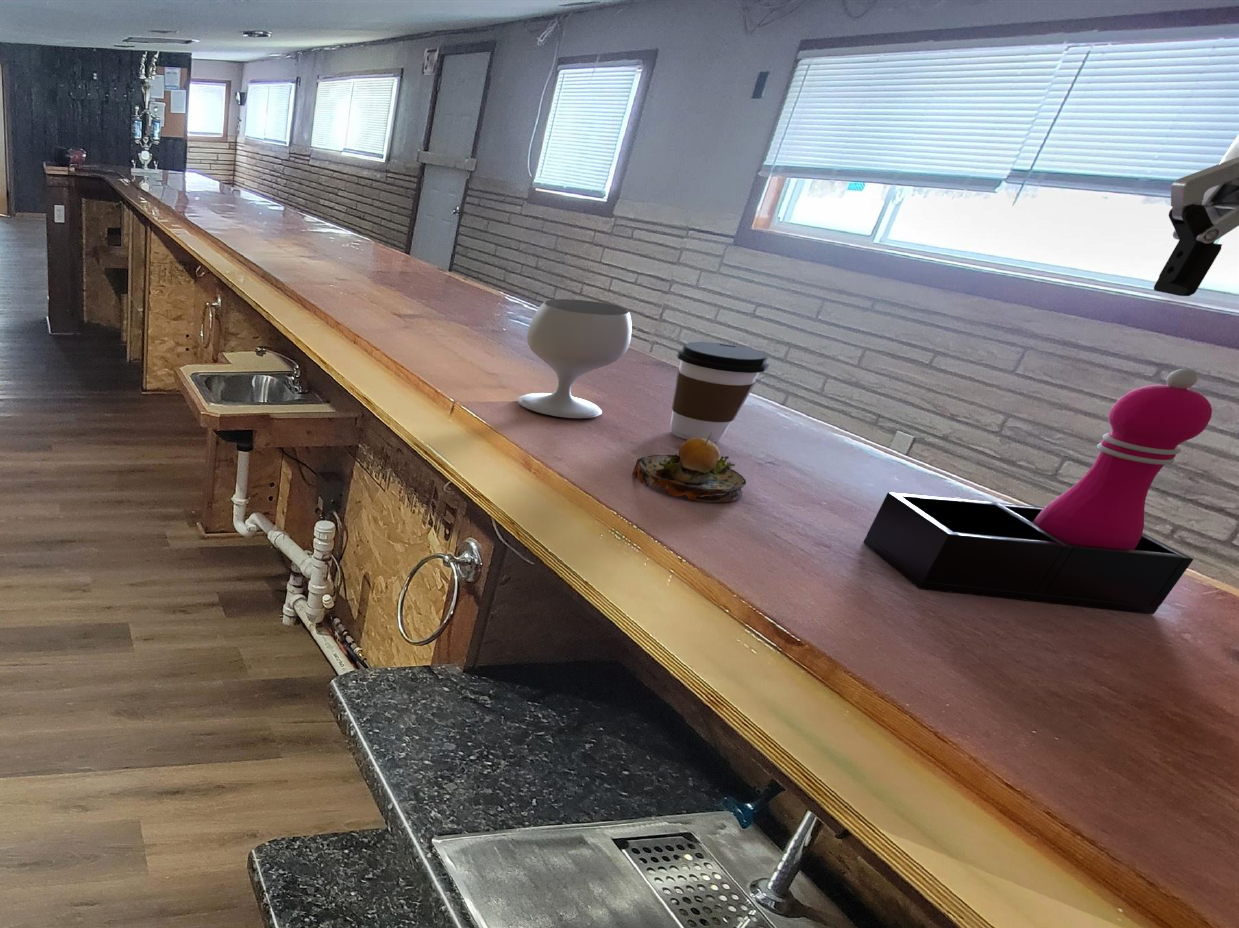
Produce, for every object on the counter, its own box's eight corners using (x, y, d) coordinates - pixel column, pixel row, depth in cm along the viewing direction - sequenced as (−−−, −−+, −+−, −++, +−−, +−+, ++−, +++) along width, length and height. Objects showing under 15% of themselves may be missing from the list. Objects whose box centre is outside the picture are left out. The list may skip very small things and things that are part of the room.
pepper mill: (1067, 558, 84) (1193, 361, 74) (1130, 593, 78) (1277, 383, 68) (992, 553, 85) (1107, 356, 75) (1048, 587, 78) (1182, 377, 69)
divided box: (1071, 564, 86) (1104, 512, 83) (1154, 614, 77) (1194, 558, 74) (862, 542, 88) (887, 492, 85) (919, 588, 79) (949, 534, 76)
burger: (749, 484, 102) (773, 425, 98) (731, 513, 94) (756, 450, 90) (645, 459, 108) (663, 403, 105) (620, 484, 100) (639, 424, 96)
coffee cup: (658, 418, 125) (685, 337, 119) (741, 434, 119) (774, 350, 113) (646, 436, 117) (675, 350, 111) (735, 454, 111) (769, 365, 105)
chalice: (613, 428, 120) (645, 321, 112) (511, 415, 123) (536, 310, 116) (602, 401, 131) (631, 303, 124) (510, 390, 135) (532, 294, 127)
